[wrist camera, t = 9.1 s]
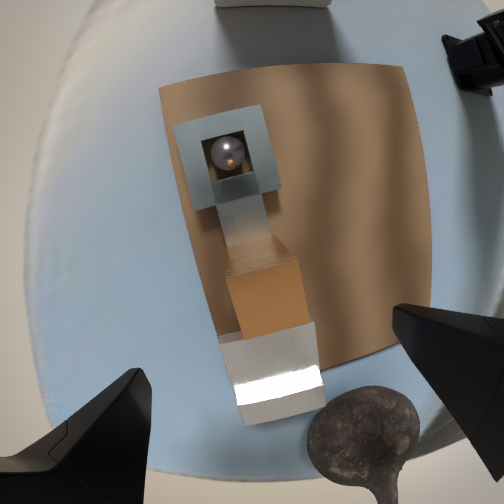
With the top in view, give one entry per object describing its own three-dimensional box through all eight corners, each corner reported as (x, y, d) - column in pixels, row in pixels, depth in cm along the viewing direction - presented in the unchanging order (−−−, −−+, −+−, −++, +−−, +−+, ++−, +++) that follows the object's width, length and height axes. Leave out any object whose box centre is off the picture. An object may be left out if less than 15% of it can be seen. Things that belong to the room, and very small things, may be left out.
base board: (396, 70, 18) (402, 66, 17) (421, 325, 24) (427, 329, 23) (161, 92, 17) (158, 88, 16) (234, 383, 23) (235, 390, 22)
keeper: (299, 299, 20) (319, 329, 16) (309, 370, 22) (326, 406, 18) (219, 317, 20) (219, 353, 16) (240, 387, 22) (245, 426, 17)
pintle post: (237, 141, 17) (241, 133, 14) (243, 168, 18) (247, 165, 15) (210, 147, 17) (207, 140, 14) (216, 174, 18) (214, 172, 14)
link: (175, 129, 16) (150, 102, 10) (257, 109, 16) (277, 71, 10) (241, 354, 21) (250, 417, 14) (309, 335, 21) (339, 391, 14)
